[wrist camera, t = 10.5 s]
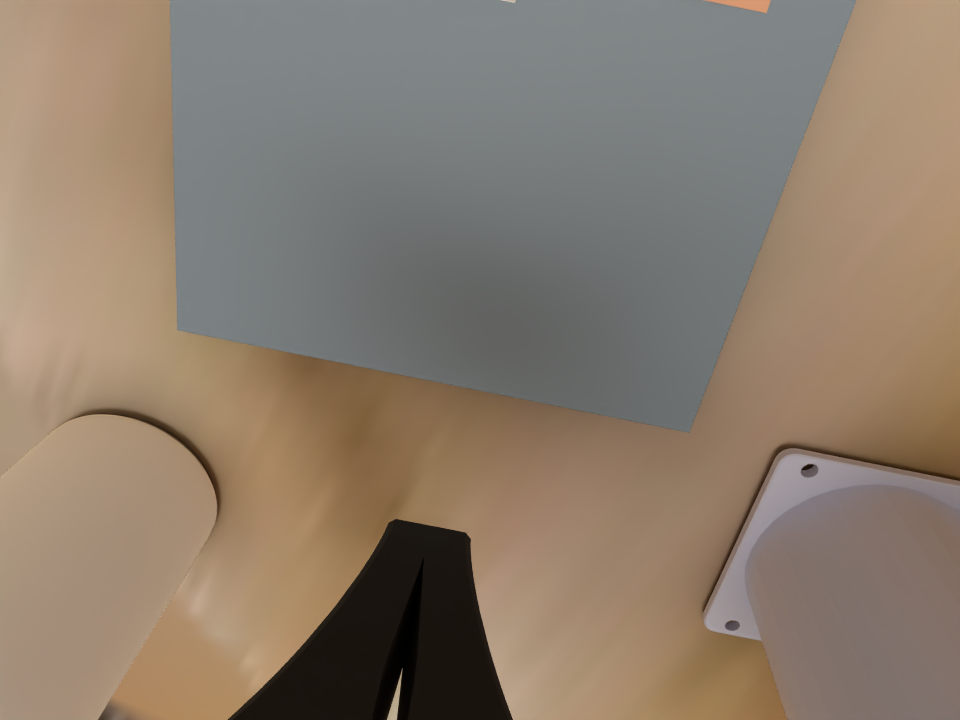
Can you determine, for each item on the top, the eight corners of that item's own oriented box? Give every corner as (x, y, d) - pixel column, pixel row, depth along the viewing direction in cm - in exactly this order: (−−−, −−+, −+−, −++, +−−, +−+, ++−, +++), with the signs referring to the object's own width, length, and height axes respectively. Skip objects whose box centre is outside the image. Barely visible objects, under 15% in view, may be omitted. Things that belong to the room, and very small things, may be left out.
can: (64, 376, 24) (-320, 689, 13) (246, 457, 25) (21, 811, 14) (30, 508, 27) (-307, 851, 16) (194, 576, 28) (-24, 943, 17)
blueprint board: (971, -329, 14) (990, -342, 14) (685, 422, 23) (689, 434, 22) (173, -498, 14) (156, -520, 13) (185, 321, 23) (175, 331, 22)
